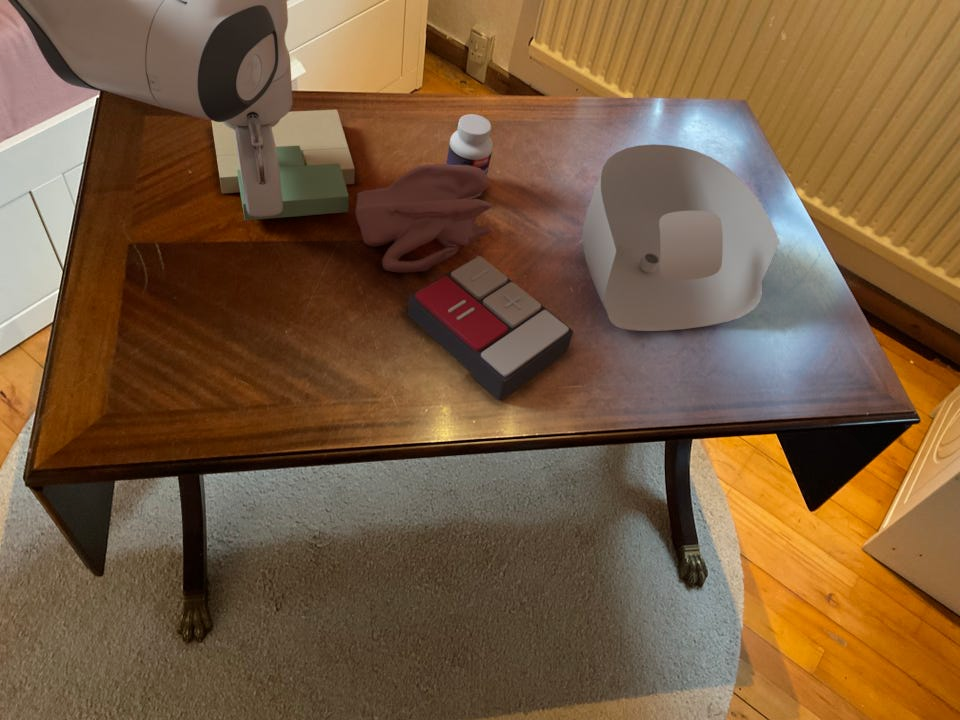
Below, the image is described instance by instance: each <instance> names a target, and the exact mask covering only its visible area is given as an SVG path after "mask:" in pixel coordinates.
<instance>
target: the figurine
mask: <svg viewBox="0 0 960 720" xmlns="http://www.w3.org/2000/svg"><path fill="white" fill-rule="evenodd" d="M489 184H490V179H489V178H488V175H487V176H486V174H485V173H484V172H483V170H481V169H480V168H476V167H473V166H468V165H448V164H446V163H438V164H422V165H418V166H416V167H414V168H412V169H409V170H408V171H407V172H405V173H403V174H402V175H401V176H400V177H399V178H398V179H395V180H394V181H392V183H391V185H390V186H388V187H383V188H375V189H369V190H368V189H367V190H363V191H360V192H357V194H356V206H355V211H354V213H355V218H356V221H357V224H358V227H359V229H360V234H361V238H362V240H363V243H364V244H365V245H366V246H369V247H379V246H384V245H387V244H390V243H392V244H391V245H390V246H389V247H388V248H387V250H386V252H385V253H384V255H383V256H382V260H381V266H382V268H383V269H384V270H385V271H386V272H392V273H397V274H405V273H406V274H407V273H418V272H421V273H424V272H428V270H430V269H431V268H433V267H434V266H437V265H439V264H441V263H442V262H444V261H446V260H449V259H451V258H453V257H454V256H455V255H456V254H457V253H458V251H459V249H460V247H461V246H463V247H464V246H465V247H467V246H468V245H474V243H476V242H477V241H478V239H480V238H482V237H484V236H487V235H489V234H492V233H493V231H494V229H493V227H492V226H490V225H487V224H482V225H475V222H476V219H477V218H478V217H479V216H480V215H482V214H483V213H485V212H487V211H488V210H490V209H492V207H493V205H492V203H490V202H489V201H485V200H482V199H478V198H472V199H468V198H469V197H474V196H477V195H478V194H480V193H481V192H482V193H483V192H484V191H485V190H486V189H487V188H488V186H489ZM482 193H481V194H482ZM481 194H480V195H481ZM434 240H438V243H439V245H440V247H441V248H442V249H440V250H437V251H435V252H433V253H431V254H428V255H427V256H424V257H423V258H420V259H416V260H400V258H401V257H402V256H404V255H406V254H408V253H410V252H412V251H413V250H416V249H418V248H420V247H422V246H424V245H426V244H428V243H432V241H434Z"/></svg>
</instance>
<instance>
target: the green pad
mask: <svg viewBox="0 0 960 720" xmlns="http://www.w3.org/2000/svg"><path fill="white" fill-rule="evenodd" d="M276 150H277V155H278V162H279V170H280V180H281V190H282V201H283V210H282V213H281V214H280V215H277V216H270V217H261V218H258V217H250V216H249V214H248V212H247V209H246V203H245V197H244V191H243V185H242V179H241V173H240V170H237V174H238V181H239V188H240V192H239V194H240V199H241V207H242V213H243V219H244V221H246V222H247V221H257V220H269V219H281V218H291V217H293V218H294V217H304V216H315V215H316V216H317V215H328V214H340V213H349V209H350V208H349V207H350V205H349V204H350V196H349V192H348V188H347V184H345V181H344V177H343V174H342V170H341V167H340V164H339V163H336V164H321V165H304V161H303V157H302V153H301V149H300V146H299V145H298V146H281V147H276Z"/></svg>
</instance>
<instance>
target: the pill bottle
mask: <svg viewBox="0 0 960 720" xmlns="http://www.w3.org/2000/svg"><path fill="white" fill-rule="evenodd" d="M491 130H492V124H491V122H490V121H489V119H487V118H486V117H484V116H482V115H480V114H474V113H469V114H464V115H462V116H461V117H460V118H459V119H458V123H457V128H456V130H455V131H454V132H453V133H452V135H450V139H449V143H448V150H447V157H446V163H445V164H448V165H468V166H473V167H476V168H480V169H481V170H483V172H484V173H485V174H486V176H487V177H488V172H489V167H490V162H491V158H492V153H493V147H494V144H493V140H492V139H491V137H490V136H491ZM482 194H483V192H481V193H480V194H478V195H477V196H474V197H469V198H468V199H476V198H477V197H479V196H481V195H482Z"/></svg>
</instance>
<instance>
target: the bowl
mask: <svg viewBox="0 0 960 720" xmlns="http://www.w3.org/2000/svg"><path fill="white" fill-rule="evenodd" d="M779 244H780V239H779V238H778V235H777V231H776V229H775V227H774V225H773V223H772V221H771V218H770V217H769V215H768V213H767V211H766V210H765V207H764V206H763V205H762V203H761V202H760V200H759V199H758V197H757V195H756V194H755V193H754V192H753V191H752V190H751V188H750V187H749V186H748V185H747V183H745V181H743V180H742V179H741V177H739V175H737V174H736V173H735V172H734V171H732V170H731V169H730V168H729V167H727V166H726V165H725V164H723V163H721V162H720V161H718V159H715V158H714V157H712V156H710V155H707V154H705V153H703V152H699V151H697V150H693V149H691V148H686V147H682V146H676V145H669V144H654V143H653V144H641V145H636V146H631V147H627V148H624V149H622V150H619V151H617V152H615V153H613V154H612V155H611V156H610V157H609V158H607V160H606V162H605V163H604V165H603V166H602V168H601V172H600V174H599V177H598V179H597V183H596V185H595V188H594V190H593V194H592V196H591V200H590V202H589V205H588V208H587V211H586V215H585V219H584V223H583V229H582V248H583V253H584V259H585V263H586V265H587V269H588V272H589V274H590V277H591V280H592V282H593V285H594V288H595V290H596V292H597V295H598V297H599V299H600V301H601V303H602V306H603V307H604V309H605V313H606V315H607V317H608V319H609V321H610V322H611V324H612V325H614V326H615V327H617V328H620V329H623V330H626V331H627V330H628V331H639V332H657V331H658V332H661V331H663V332H664V331H676V330H687V329H688V330H689V329H695V328H701V327H709V326H714V325H719V324H723V323H726V322H730V321H733V320H737V319H740V318H742V317H744V316H746V315H748V314H749V313H751V312H752V311H753V310H755V309H756V307H757V306H758V305H759V303H760V301H761V299H762V294H763V284H762V283H763V280H764V278H765V275H766V273H767V270H768V269H769V266H770V264H771V262H772V259H773V257H774V255H775V253H776V251H777V249H778V246H779Z"/></svg>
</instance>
